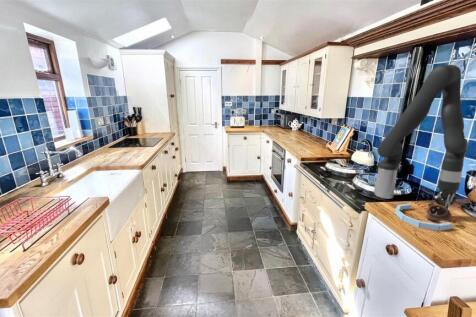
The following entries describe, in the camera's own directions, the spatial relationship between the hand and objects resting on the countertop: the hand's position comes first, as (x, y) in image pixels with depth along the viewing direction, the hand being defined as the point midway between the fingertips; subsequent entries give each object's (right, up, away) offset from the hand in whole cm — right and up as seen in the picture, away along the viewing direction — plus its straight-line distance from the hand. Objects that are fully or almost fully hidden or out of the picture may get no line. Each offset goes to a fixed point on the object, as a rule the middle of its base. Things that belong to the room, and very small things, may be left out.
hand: (443, 212), depth 109 cm
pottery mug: (-5, -2, -2) cm, 6 cm away
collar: (-15, -3, -2) cm, 16 cm away
